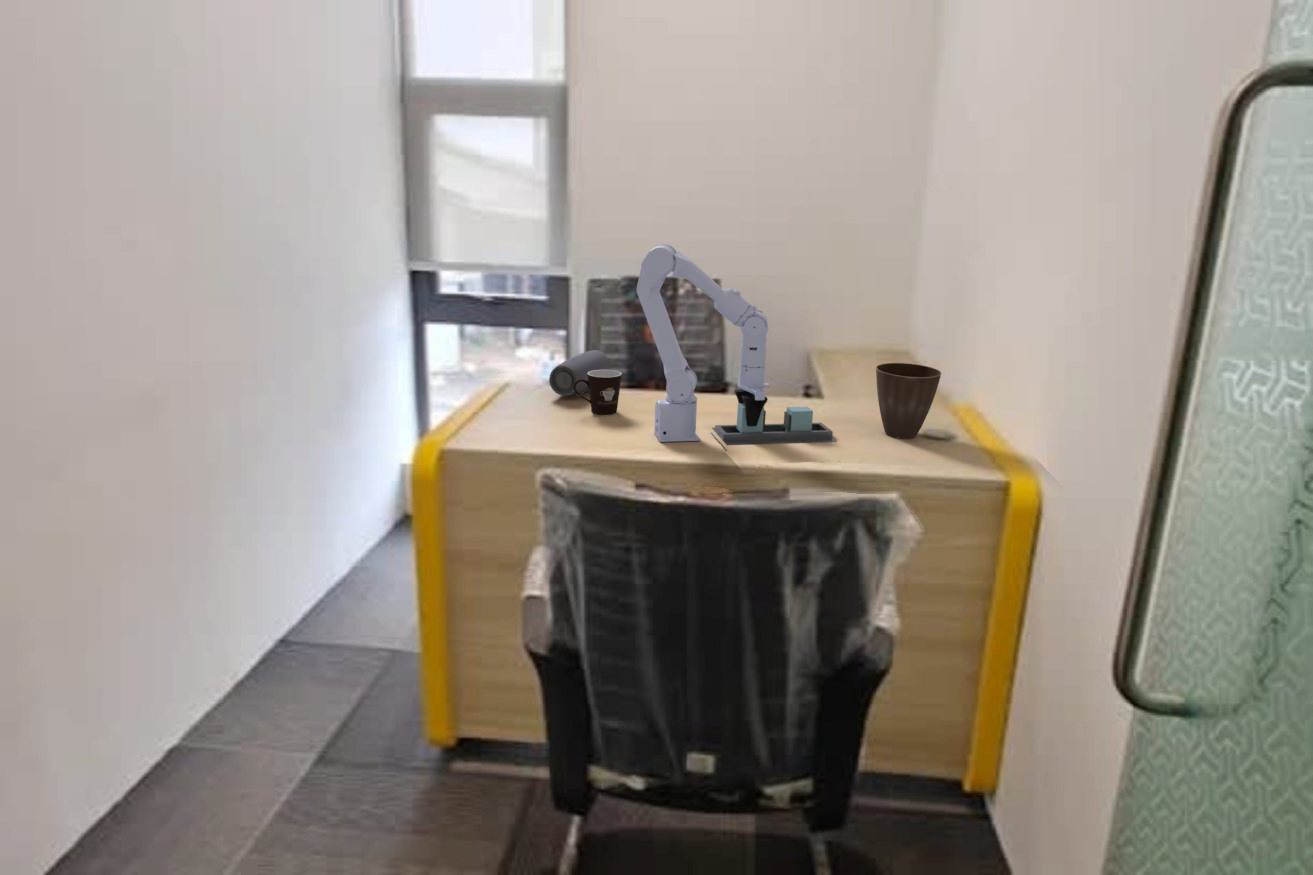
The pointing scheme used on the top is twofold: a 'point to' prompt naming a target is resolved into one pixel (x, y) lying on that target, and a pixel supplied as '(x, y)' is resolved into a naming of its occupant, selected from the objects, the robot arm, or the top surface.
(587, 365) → the bluetooth speaker
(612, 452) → the top surface
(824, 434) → the rail
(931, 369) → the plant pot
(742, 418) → the lidded storage box
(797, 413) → the light blue block
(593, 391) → the coffee mug
